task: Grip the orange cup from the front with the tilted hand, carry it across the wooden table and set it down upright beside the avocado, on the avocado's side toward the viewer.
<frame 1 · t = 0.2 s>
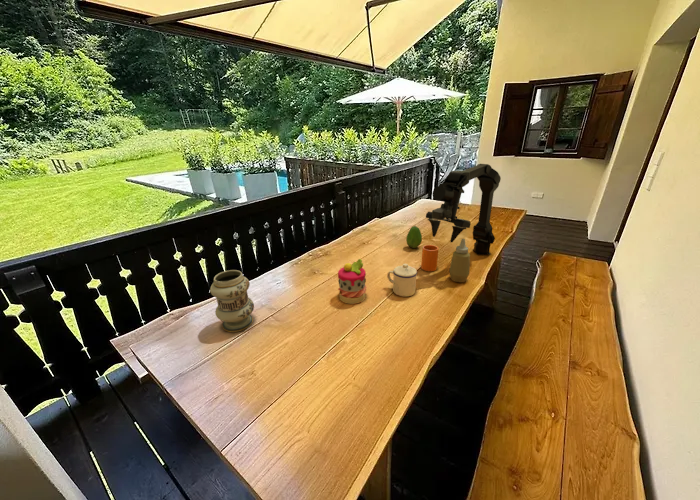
hand: (442, 239, 127), 15 cm above the table, tool pointing down, fingers open, 9 cm apart
apothecary jar: (238, 323, 101), on the table
teacup with lid: (400, 290, 119), on the table
avocado: (413, 247, 160), on the table
orange cup: (428, 268, 136), on the table
squeeze bottle: (458, 279, 126), on the table
cake: (352, 297, 115), on the table
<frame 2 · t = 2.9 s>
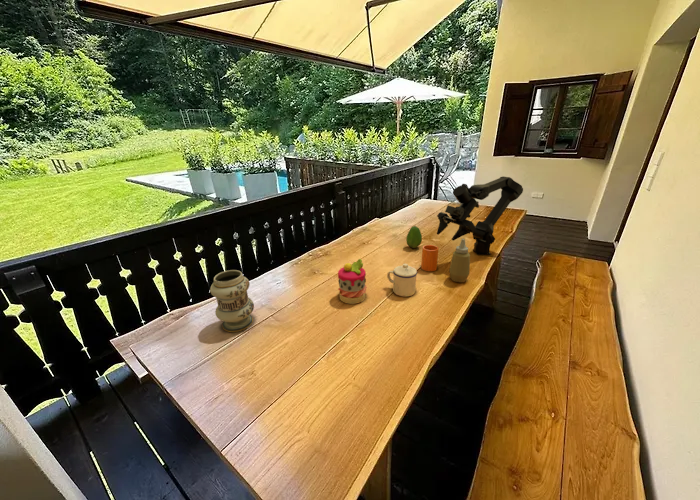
hand: (444, 237, 135), 13 cm above the table, tool tilted 45°, fingers open, 9 cm apart
nothing on the table moved.
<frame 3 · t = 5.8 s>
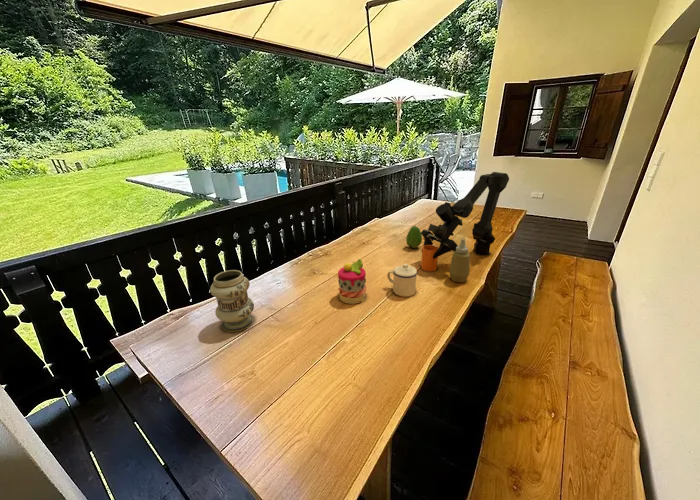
hand: (427, 255, 133), 7 cm above the table, tool tilted 45°, fingers closed on orange cup, 7 cm apart
orange cup: (428, 268, 136), on the table, touching gripper
everything else where it was.
when the fingers open (7 cm above the table, at t = 11.7 s): orange cup stays where it is, on the table.
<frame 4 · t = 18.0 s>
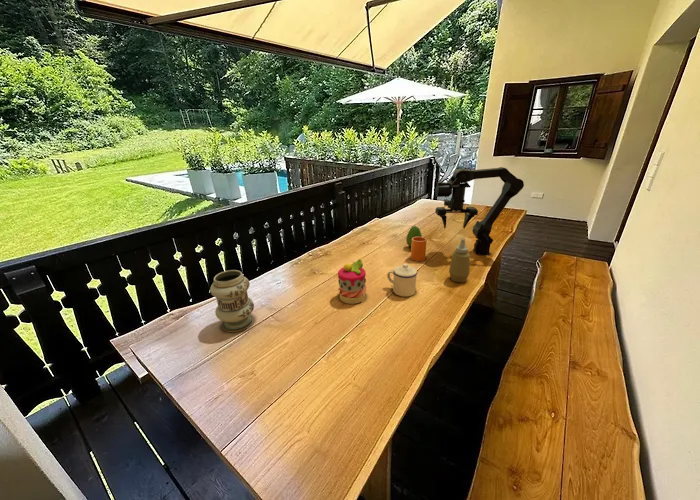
hand: (454, 228, 147), 13 cm above the table, tool pointing down, fingers open, 9 cm apart
orange cup: (417, 258, 146), on the table
everything else where it was.
at the end: orange cup inside the target area on the table beside the avocado (0.6 cm from its centre), on the table; orange cup tilted 0°; avocado moved 0.2 cm from its start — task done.
